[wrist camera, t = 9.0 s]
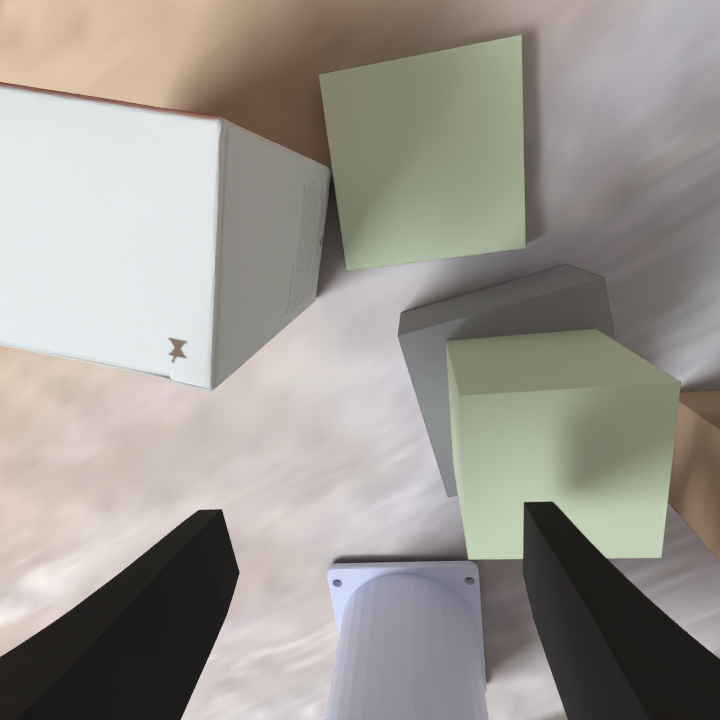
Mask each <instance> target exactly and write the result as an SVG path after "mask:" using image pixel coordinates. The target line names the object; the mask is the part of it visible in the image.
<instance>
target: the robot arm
mask: <svg viewBox="0 0 720 720" xmlns="http://www.w3.org/2000/svg"><path fill="white" fill-rule="evenodd" d="M523 575H524V579H525V584H526V588H527V593H528V597H529V601H530V605H531V610H532V614H533V618H534V622H535V625H536V628H537V631H538V634H539V636H540V639H541V642H542V645H543V648H544V651H545V654H546V657H547V660H548V663H549V666H550V669H551V672H552V675H553V677H554V680H555V683H556V686H557V689H558V692H559V695H560V698H561V701H562V704H563V706H564V709H565V712H566V715H567V718H568V720H720V659H719V658H718V657H716V656H715V655H714V654H713V653H711V652H710V651H709V650H708V649H706V648H705V647H704V646H703V645H701V644H700V643H699V642H698V641H697V640H695V639H694V638H693V637H692V636H691V635H689V634H688V633H687V632H686V631H685V630H683V629H682V628H681V627H680V626H679V625H678V624H677V623H675V622H674V621H673V620H672V619H671V618H670V617H669V616H667V615H666V614H665V613H664V612H663V611H662V610H661V609H660V608H658V607H657V606H656V605H655V604H654V603H653V602H652V601H651V600H650V599H648V598H647V597H646V596H645V595H644V594H643V593H642V592H641V591H640V590H639V589H638V588H637V587H636V586H635V585H633V584H632V583H631V582H630V581H629V580H628V579H627V578H626V577H625V576H624V575H623V574H622V573H621V572H620V571H619V570H618V569H617V568H616V567H615V566H614V565H613V564H612V563H611V562H610V561H609V560H608V559H607V558H606V557H605V556H604V555H603V554H602V553H601V552H600V551H599V550H598V549H597V548H596V547H595V546H594V545H593V544H592V543H591V542H590V541H589V540H588V539H587V537H586V536H585V535H584V534H583V533H582V532H581V531H580V530H579V529H578V528H577V527H576V526H575V525H574V524H573V522H572V521H571V520H570V519H569V518H568V517H567V516H566V515H565V514H564V513H563V511H562V510H561V509H560V508H559V507H558V506H557V505H556V504H555V503H554V502H553V501H547V502H524V524H523ZM238 576H239V569H238V566H237V562H236V558H235V555H234V551H233V548H232V544H231V540H230V537H229V533H228V530H227V526H226V522H225V519H224V515H223V512H222V509H217V510H198V511H197V512H196V513H194V514H193V515H191V516H190V517H189V518H188V519H186V520H185V521H184V522H182V523H181V524H180V525H179V526H177V527H176V528H175V529H174V530H172V531H171V532H170V533H169V534H168V535H166V536H165V537H164V538H163V539H161V540H160V541H159V542H158V543H156V544H155V545H154V546H153V547H152V548H150V549H149V550H148V551H147V552H145V553H144V554H143V555H142V556H140V557H139V558H138V559H137V560H135V561H134V562H133V563H132V564H131V565H129V566H128V567H127V568H126V569H124V570H123V571H122V572H121V573H119V574H118V575H117V576H115V577H114V578H113V579H111V580H110V581H109V582H107V583H106V584H105V585H103V586H102V587H101V588H99V589H98V590H97V591H96V592H94V593H93V594H92V595H90V596H89V597H88V598H86V599H85V600H84V601H82V602H81V603H80V604H78V605H77V606H76V607H74V608H73V609H72V610H70V611H69V612H67V613H66V614H65V615H63V616H62V617H60V618H59V619H57V620H56V621H54V622H53V623H52V624H50V625H49V626H47V627H46V628H44V629H43V630H41V631H40V632H38V633H37V634H35V635H34V636H32V637H31V638H29V639H28V640H26V641H25V642H23V643H22V644H20V645H19V646H17V647H15V648H14V649H12V650H11V651H9V652H8V653H6V654H4V655H3V656H1V657H0V720H181V718H182V715H183V713H184V711H185V709H186V706H187V704H188V702H189V700H190V697H191V695H192V693H193V691H194V689H195V686H196V684H197V682H198V680H199V677H200V675H201V673H202V671H203V668H204V666H205V664H206V662H207V659H208V657H209V655H210V653H211V650H212V648H213V646H214V643H215V641H216V639H217V637H218V634H219V632H220V630H221V627H222V625H223V623H224V620H225V618H226V616H227V612H228V609H229V606H230V603H231V600H232V597H233V594H234V590H235V587H236V583H237V580H238ZM467 577H471V578H472V579H466V578H467ZM327 578H328V583H329V588H330V593H331V598H332V603H333V608H334V613H335V618H336V623H337V629H338V634H339V640H338V646H337V652H336V657H335V663H334V669H333V675H332V680H331V686H330V692H329V698H328V703H327V709H326V715H325V720H489V718H488V711H487V705H486V698H485V694H486V676H485V661H484V645H483V630H482V615H481V599H480V584H479V571H478V567H477V565H476V564H475V563H474V562H472V561H427V562H381V563H336V564H332V565H330V566H329V568H328V571H327ZM336 579H338V580H340V581H336Z"/></svg>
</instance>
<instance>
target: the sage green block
mask: <svg viewBox="0 0 720 720" xmlns="http://www.w3.org/2000/svg"><path fill="white" fill-rule="evenodd" d="M446 353H447V370H448V387H449V403H450V420H451V436H452V453H453V466H454V472H455V479H456V485H457V491H458V498H459V504H460V510H461V517H462V523H463V529H464V536H465V542H466V548H467V554H468V560H472V559H523V524H524V502H547V501H553V502H554V503H555V504H556V505H557V506H558V507H559V508H560V509H561V510H562V511H563V513H564V514H565V515H566V516H567V517H568V518H569V519H570V520H571V521H572V522H573V524H574V525H575V526H576V527H577V528H578V529H579V530H580V531H581V532H582V533H583V534H584V535H585V536H586V537H587V539H588V540H589V541H590V542H591V543H592V544H593V545H594V546H595V547H596V548H597V549H598V550H599V551H600V552H601V553H602V554H603V555H604V556H605V557H606V558H661V557H662V548H663V539H664V530H665V521H666V512H667V503H668V494H669V486H670V477H671V468H672V459H673V450H674V441H675V432H676V423H677V414H678V405H679V396H680V387H681V382H680V381H679V380H677V379H675V378H674V377H672V376H671V375H669V374H667V373H666V372H664V371H663V370H661V369H659V368H658V367H656V366H655V365H653V364H651V363H650V362H648V361H647V360H645V359H643V358H642V357H640V356H639V355H637V354H635V353H634V352H632V351H631V350H629V349H627V348H626V347H624V346H623V345H621V344H619V343H618V342H616V341H615V340H613V339H612V338H610V337H608V336H607V335H605V334H604V333H602V332H600V331H599V330H597V329H586V330H574V331H561V332H549V333H536V334H524V335H511V336H499V337H487V338H474V339H462V340H449V341H446Z"/></svg>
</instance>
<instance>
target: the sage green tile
mask: <svg viewBox="0 0 720 720" xmlns="http://www.w3.org/2000/svg"><path fill="white" fill-rule="evenodd" d="M319 81H320V88H321V95H322V102H323V109H324V116H325V123H326V130H327V137H328V144H329V151H330V158H331V165H332V172H333V179H334V186H335V193H336V200H337V207H338V214H339V221H340V228H341V235H342V242H343V249H344V256H345V263H346V270H347V271H349V270H357V269H365V268H373V267H381V266H389V265H397V264H405V263H413V262H421V261H429V260H437V259H445V258H453V257H461V256H469V255H477V254H485V253H493V252H501V251H509V250H517V249H525V248H526V238H525V185H524V132H523V79H522V35H517V36H512V37H507V38H502V39H497V40H492V41H487V42H482V43H477V44H472V45H466V46H461V47H456V48H451V49H446V50H441V51H436V52H431V53H426V54H421V55H415V56H410V57H405V58H400V59H395V60H390V61H385V62H380V63H375V64H370V65H364V66H359V67H354V68H349V69H344V70H339V71H334V72H329V73H324V74H319Z"/></svg>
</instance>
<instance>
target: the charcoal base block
mask: <svg viewBox="0 0 720 720" xmlns="http://www.w3.org/2000/svg"><path fill="white" fill-rule="evenodd" d="M586 329H597V330H599V331H600V332H602V333H604V334H605V335H607V336H608V337H610V338H612V339H613V340H615V339H614V333H613V326H612V320H611V314H610V308H609V302H608V296H607V290H606V284H605V278H604V277H602V276H599V275H596V274H593V273H590V272H587V271H584V270H582V269H579V268H576V267H573V266H570V265H567V264H566V265H562V266H559V267H555V268H552V269H549V270H545V271H542V272H538V273H535V274H532V275H528V276H525V277H522V278H518V279H515V280H511V281H508V282H505V283H501V284H498V285H494V286H491V287H488V288H484V289H481V290H477V291H474V292H471V293H467V294H464V295H460V296H457V297H454V298H450V299H447V300H444V301H440V302H437V303H433V304H430V305H427V306H423V307H420V308H416V309H413V310H410V311H406V312H403V313H401V314H400V322H399V330H398V339H399V342H400V345H401V348H402V352H403V355H404V358H405V361H406V364H407V368H408V371H409V374H410V377H411V380H412V384H413V387H414V390H415V393H416V396H417V400H418V403H419V406H420V409H421V412H422V416H423V419H424V422H425V425H426V429H427V432H428V435H429V438H430V441H431V445H432V448H433V451H434V454H435V457H436V461H437V464H438V467H439V470H440V473H441V477H442V480H443V483H444V486H445V490H446V493H447V496H448V497H452V496H457V495H458V491H457V485H456V479H455V472H454V466H453V453H452V436H451V420H450V403H449V387H448V370H447V353H446V341H449V340H462V339H474V338H487V337H499V336H511V335H524V334H536V333H549V332H561V331H574V330H586Z"/></svg>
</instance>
